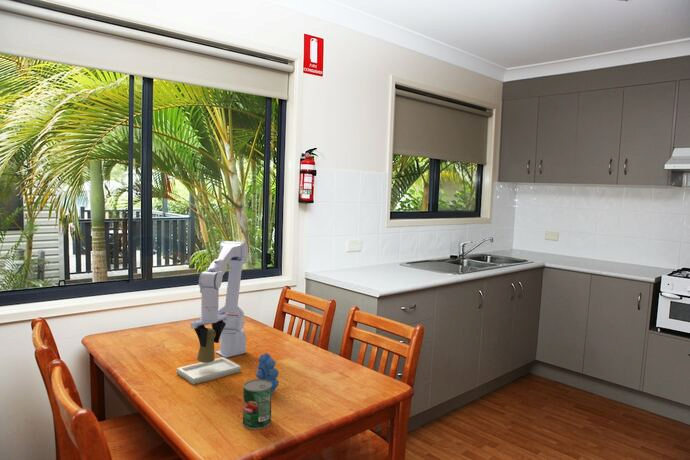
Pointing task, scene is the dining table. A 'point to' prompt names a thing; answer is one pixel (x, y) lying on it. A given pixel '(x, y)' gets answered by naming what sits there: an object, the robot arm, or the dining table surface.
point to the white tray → (208, 370)
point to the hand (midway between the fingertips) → (209, 344)
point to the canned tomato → (257, 404)
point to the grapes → (267, 370)
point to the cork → (207, 348)
